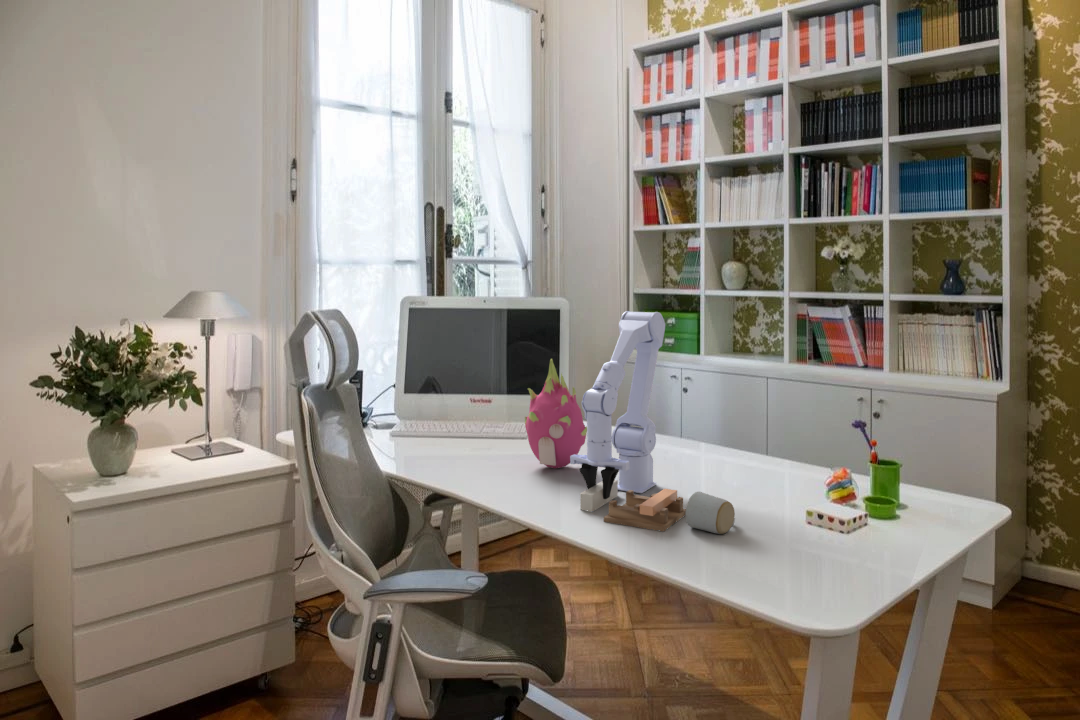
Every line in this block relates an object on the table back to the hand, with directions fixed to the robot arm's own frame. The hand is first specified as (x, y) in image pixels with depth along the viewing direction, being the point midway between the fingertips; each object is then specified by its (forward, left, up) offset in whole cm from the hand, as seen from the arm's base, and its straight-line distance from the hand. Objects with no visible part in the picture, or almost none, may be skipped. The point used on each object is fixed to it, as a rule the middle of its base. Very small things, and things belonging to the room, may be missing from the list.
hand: (599, 496), depth 191 cm
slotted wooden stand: (+5, +14, -1) cm, 15 cm away
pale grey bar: (0, 0, -2) cm, 2 cm away
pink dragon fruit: (-23, -25, -2) cm, 34 cm away
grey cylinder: (+5, +29, -2) cm, 30 cm away
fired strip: (+5, +17, +2) cm, 18 cm away
